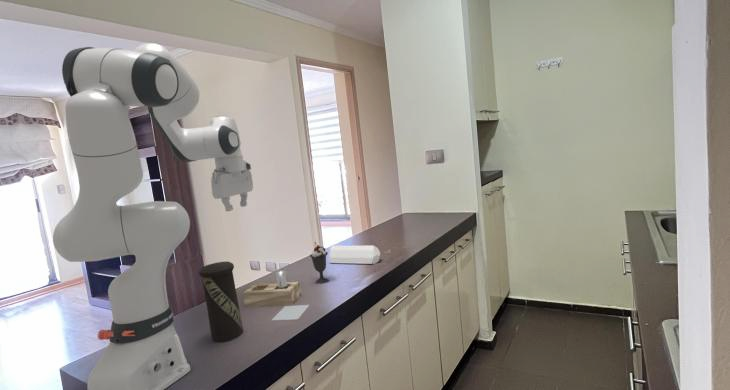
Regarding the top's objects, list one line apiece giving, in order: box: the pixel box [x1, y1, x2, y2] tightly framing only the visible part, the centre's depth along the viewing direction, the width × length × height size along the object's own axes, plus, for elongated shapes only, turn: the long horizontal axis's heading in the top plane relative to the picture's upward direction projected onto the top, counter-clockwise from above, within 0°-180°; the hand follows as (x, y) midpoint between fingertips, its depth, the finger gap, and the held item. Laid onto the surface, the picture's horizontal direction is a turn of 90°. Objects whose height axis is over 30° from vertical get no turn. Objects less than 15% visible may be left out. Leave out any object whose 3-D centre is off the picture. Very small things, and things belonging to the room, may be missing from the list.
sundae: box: [309, 242, 330, 284], centre depth 141 cm, size 7×7×15 cm
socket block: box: [242, 280, 302, 308], centre depth 126 cm, size 8×16×5 cm, turn 79°
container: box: [198, 261, 244, 343], centre depth 103 cm, size 9×9×20 cm
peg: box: [275, 269, 288, 289], centre depth 125 cm, size 3×3×10 cm
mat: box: [271, 304, 310, 321], centre depth 115 cm, size 10×8×1 cm
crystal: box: [328, 245, 381, 265], centre depth 161 cm, size 7×7×24 cm
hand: (236, 208), depth 129 cm, fingers open, 8 cm apart
